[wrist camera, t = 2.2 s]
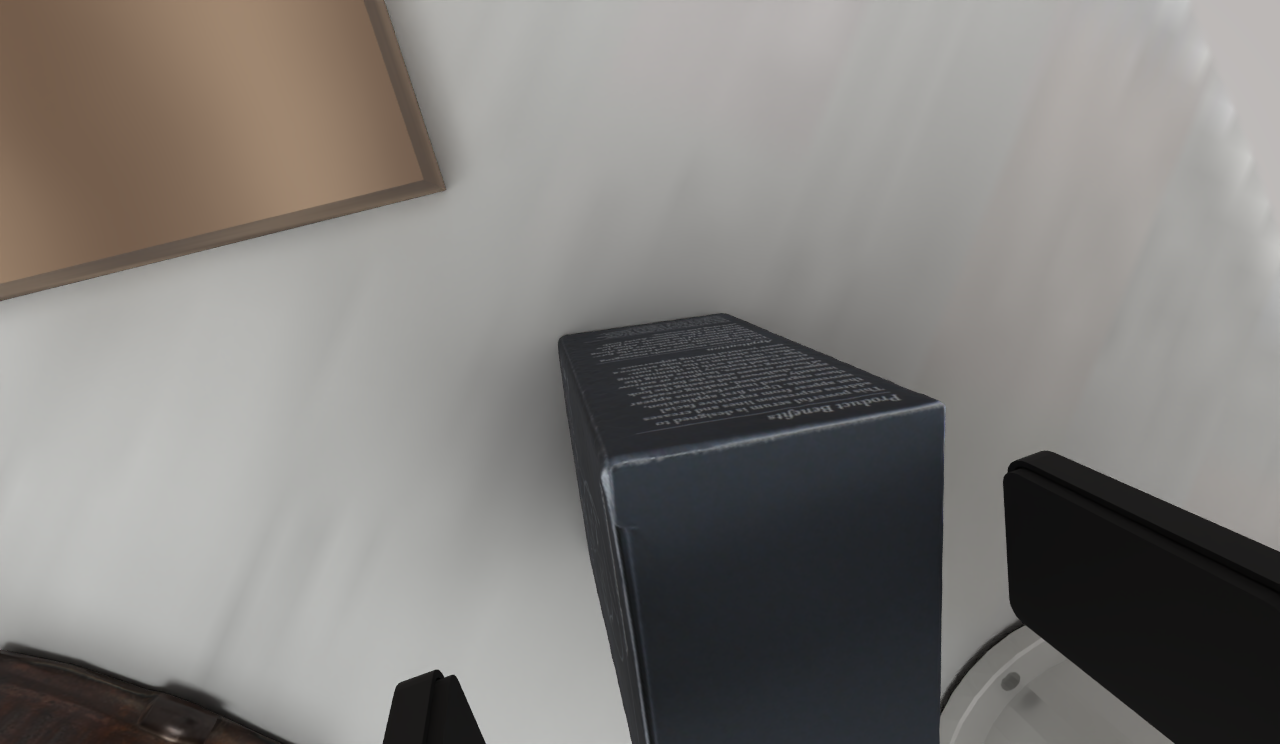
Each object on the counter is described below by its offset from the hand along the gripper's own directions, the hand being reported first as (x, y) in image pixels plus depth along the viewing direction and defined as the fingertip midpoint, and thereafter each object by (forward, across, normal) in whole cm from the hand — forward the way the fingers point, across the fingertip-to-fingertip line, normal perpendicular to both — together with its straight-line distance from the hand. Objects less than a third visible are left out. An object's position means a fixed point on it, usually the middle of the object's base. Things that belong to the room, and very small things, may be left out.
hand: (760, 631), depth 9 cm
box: (+11, -1, +1) cm, 11 cm away
